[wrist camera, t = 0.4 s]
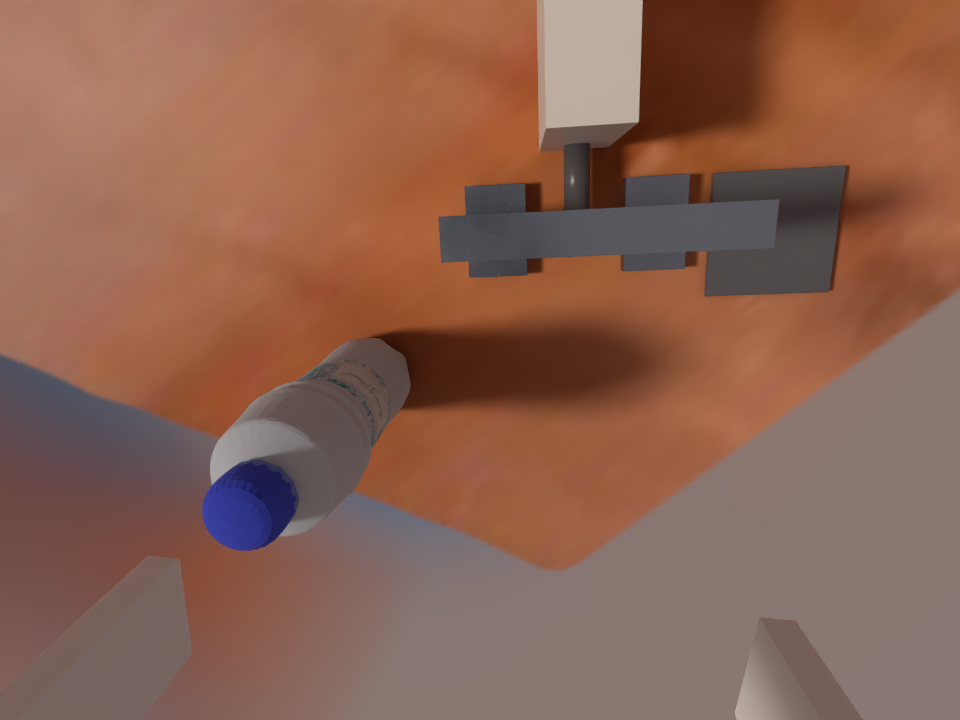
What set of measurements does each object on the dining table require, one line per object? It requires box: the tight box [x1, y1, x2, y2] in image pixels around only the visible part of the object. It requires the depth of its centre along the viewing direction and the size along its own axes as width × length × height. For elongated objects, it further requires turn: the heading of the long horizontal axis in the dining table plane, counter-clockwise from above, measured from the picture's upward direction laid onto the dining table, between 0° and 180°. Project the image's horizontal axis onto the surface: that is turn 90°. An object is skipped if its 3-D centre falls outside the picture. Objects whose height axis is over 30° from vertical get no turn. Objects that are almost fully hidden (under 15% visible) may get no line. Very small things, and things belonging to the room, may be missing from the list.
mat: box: [704, 166, 846, 296], centre depth 34 cm, size 8×8×1 cm
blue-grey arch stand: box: [438, 174, 779, 278], centre depth 28 cm, size 6×14×13 cm, turn 93°
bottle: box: [202, 338, 411, 551], centre depth 29 cm, size 7×7×20 cm
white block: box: [537, 0, 643, 210], centre depth 28 cm, size 20×4×9 cm, turn 3°
